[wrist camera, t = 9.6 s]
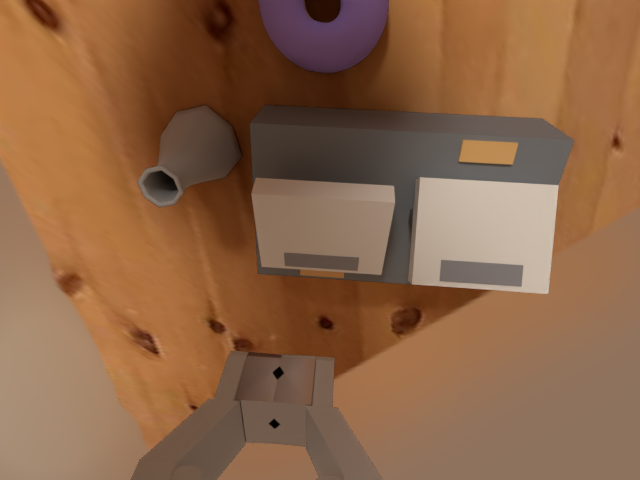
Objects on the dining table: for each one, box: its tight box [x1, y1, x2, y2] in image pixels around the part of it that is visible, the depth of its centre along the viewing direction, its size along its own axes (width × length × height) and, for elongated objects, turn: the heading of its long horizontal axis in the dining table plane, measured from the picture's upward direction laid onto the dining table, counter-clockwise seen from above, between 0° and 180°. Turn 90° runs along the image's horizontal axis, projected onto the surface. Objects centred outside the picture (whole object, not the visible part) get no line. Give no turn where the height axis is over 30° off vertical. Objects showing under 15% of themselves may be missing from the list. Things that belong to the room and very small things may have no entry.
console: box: [250, 105, 574, 291], centre depth 36 cm, size 14×24×8 cm, turn 88°
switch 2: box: [408, 177, 559, 294], centre depth 32 cm, size 8×10×2 cm
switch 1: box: [251, 178, 395, 275], centre depth 32 cm, size 8×10×2 cm
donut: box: [258, 0, 389, 73], centre depth 31 cm, size 10×9×5 cm
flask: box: [137, 105, 242, 208], centre depth 35 cm, size 7×7×10 cm
